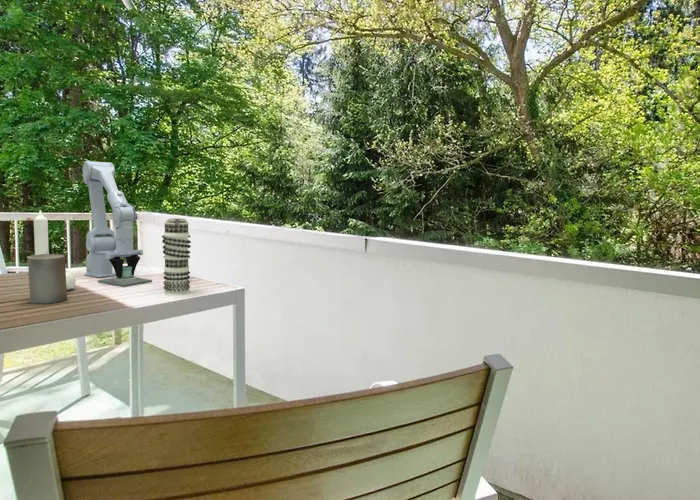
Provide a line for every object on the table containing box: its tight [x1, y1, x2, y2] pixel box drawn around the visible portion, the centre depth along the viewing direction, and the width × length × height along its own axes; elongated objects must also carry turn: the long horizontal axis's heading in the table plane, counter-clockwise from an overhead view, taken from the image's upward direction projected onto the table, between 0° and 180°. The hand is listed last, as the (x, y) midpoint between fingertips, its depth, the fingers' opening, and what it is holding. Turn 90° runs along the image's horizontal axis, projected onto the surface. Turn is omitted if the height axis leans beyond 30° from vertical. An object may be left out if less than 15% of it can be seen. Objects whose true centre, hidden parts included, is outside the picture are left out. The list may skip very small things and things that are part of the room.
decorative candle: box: [161, 217, 192, 295], centre depth 168 cm, size 9×9×25 cm
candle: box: [33, 209, 50, 255], centre depth 189 cm, size 7×7×25 cm
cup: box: [119, 265, 132, 279], centre depth 182 cm, size 5×5×5 cm
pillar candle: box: [26, 252, 68, 304], centre depth 150 cm, size 10×10×15 cm
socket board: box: [97, 275, 153, 288], centre depth 183 cm, size 14×12×2 cm
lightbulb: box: [66, 270, 77, 291], centre depth 163 cm, size 6×6×11 cm
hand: (125, 276), depth 182 cm, fingers closed on cup, 5 cm apart
